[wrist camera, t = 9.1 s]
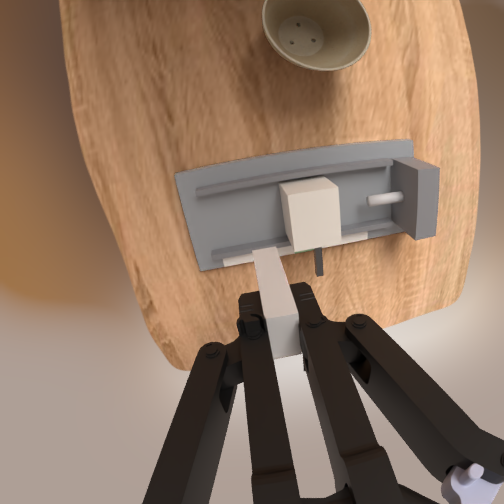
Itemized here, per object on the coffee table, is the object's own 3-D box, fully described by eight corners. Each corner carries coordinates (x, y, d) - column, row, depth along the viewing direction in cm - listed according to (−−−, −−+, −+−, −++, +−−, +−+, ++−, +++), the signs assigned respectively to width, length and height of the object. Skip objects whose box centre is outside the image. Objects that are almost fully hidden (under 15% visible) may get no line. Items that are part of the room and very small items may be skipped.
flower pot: (339, 85, 29) (367, 82, 22) (249, 70, 27) (256, 60, 21) (347, 10, 24) (374, -8, 18) (259, -8, 23) (268, -34, 17)
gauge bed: (176, 172, 32) (163, 190, 25) (407, 138, 32) (442, 149, 25) (200, 266, 37) (196, 300, 31) (407, 226, 37) (436, 250, 31)
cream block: (278, 182, 32) (287, 195, 28) (322, 175, 32) (338, 187, 27) (288, 258, 36) (297, 280, 32) (328, 250, 36) (342, 271, 32)
